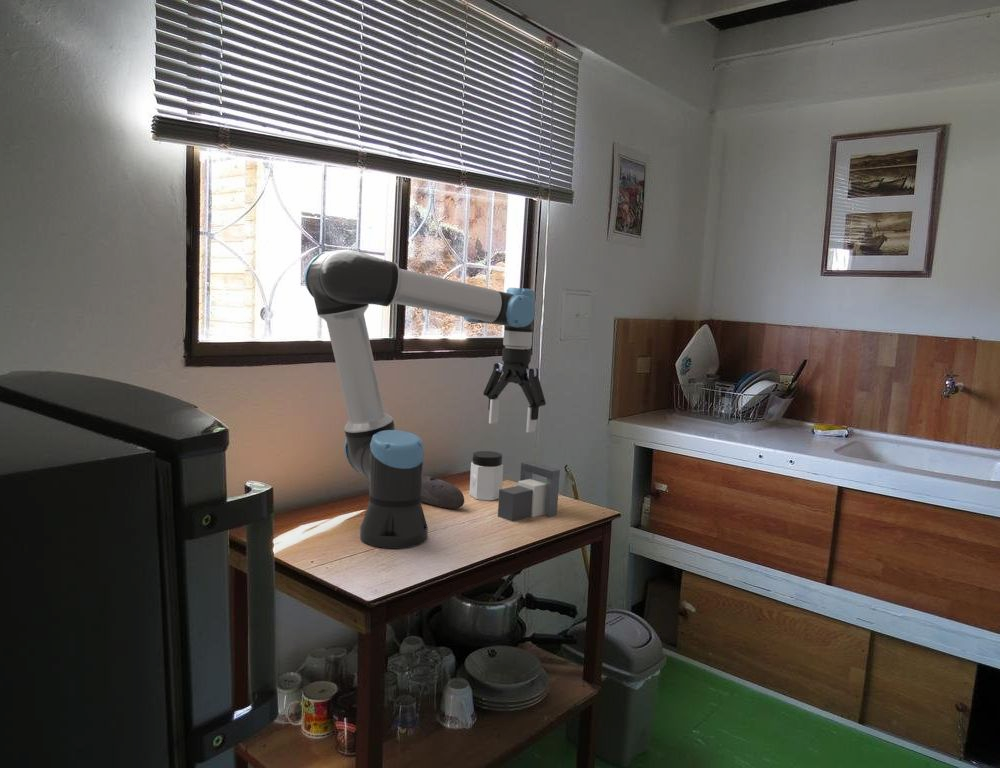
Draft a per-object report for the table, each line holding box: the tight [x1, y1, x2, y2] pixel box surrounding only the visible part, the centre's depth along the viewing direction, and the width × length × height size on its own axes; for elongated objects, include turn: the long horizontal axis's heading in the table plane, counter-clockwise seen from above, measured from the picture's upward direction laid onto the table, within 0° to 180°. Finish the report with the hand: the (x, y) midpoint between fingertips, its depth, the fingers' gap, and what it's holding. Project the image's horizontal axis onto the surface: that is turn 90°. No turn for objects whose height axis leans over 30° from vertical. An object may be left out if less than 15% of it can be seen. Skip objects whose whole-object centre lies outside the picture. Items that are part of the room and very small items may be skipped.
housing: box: [519, 460, 561, 518], centre depth 185 cm, size 3×11×12 cm, turn 44°
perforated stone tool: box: [421, 475, 465, 510], centre depth 185 cm, size 15×5×7 cm, turn 55°
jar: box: [469, 450, 504, 501], centre depth 196 cm, size 9×8×12 cm
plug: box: [497, 478, 547, 522], centre depth 182 cm, size 14×6×8 cm, turn 134°
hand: (511, 427), depth 188 cm, fingers open, 13 cm apart
